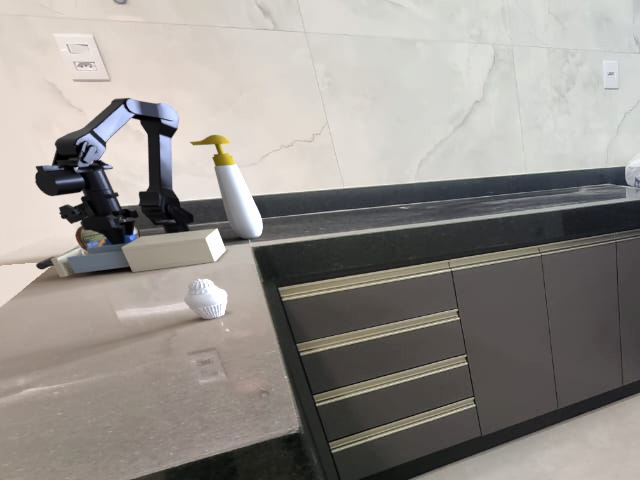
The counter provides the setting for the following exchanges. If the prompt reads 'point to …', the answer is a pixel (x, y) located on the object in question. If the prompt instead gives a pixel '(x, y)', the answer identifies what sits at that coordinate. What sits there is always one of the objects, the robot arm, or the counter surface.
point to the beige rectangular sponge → (174, 250)
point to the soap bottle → (234, 192)
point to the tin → (95, 237)
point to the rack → (87, 260)
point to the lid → (127, 240)
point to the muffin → (206, 299)
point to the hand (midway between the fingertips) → (126, 251)
